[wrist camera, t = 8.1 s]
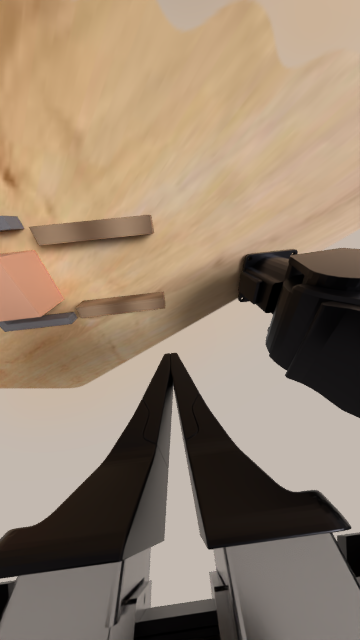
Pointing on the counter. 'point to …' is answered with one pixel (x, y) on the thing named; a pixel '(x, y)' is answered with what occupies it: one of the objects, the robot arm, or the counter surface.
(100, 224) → the wooden blocks
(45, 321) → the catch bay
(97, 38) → the counter surface
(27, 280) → the terracotta block
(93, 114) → the counter surface
